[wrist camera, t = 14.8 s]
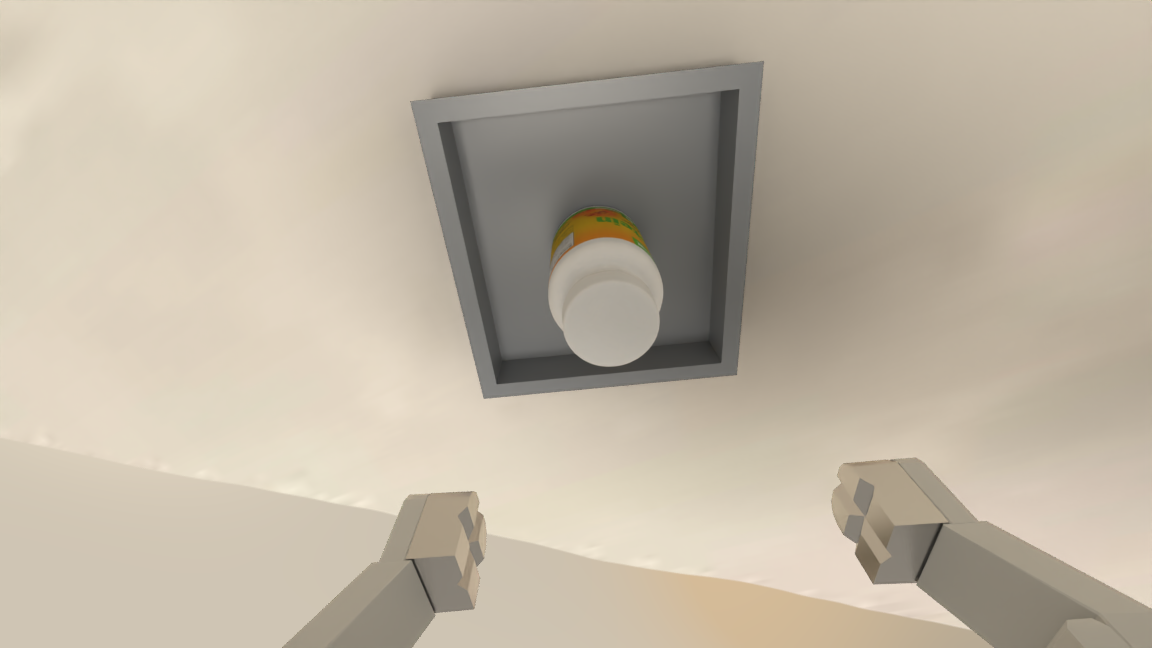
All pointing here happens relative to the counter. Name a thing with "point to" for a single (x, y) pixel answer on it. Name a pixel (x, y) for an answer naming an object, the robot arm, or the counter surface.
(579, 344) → the supplement bottle
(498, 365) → the parts tray
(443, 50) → the counter surface
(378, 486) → the counter surface
